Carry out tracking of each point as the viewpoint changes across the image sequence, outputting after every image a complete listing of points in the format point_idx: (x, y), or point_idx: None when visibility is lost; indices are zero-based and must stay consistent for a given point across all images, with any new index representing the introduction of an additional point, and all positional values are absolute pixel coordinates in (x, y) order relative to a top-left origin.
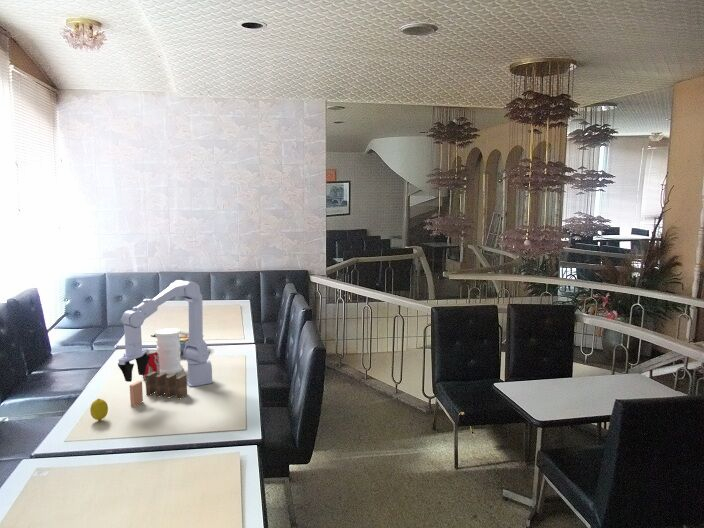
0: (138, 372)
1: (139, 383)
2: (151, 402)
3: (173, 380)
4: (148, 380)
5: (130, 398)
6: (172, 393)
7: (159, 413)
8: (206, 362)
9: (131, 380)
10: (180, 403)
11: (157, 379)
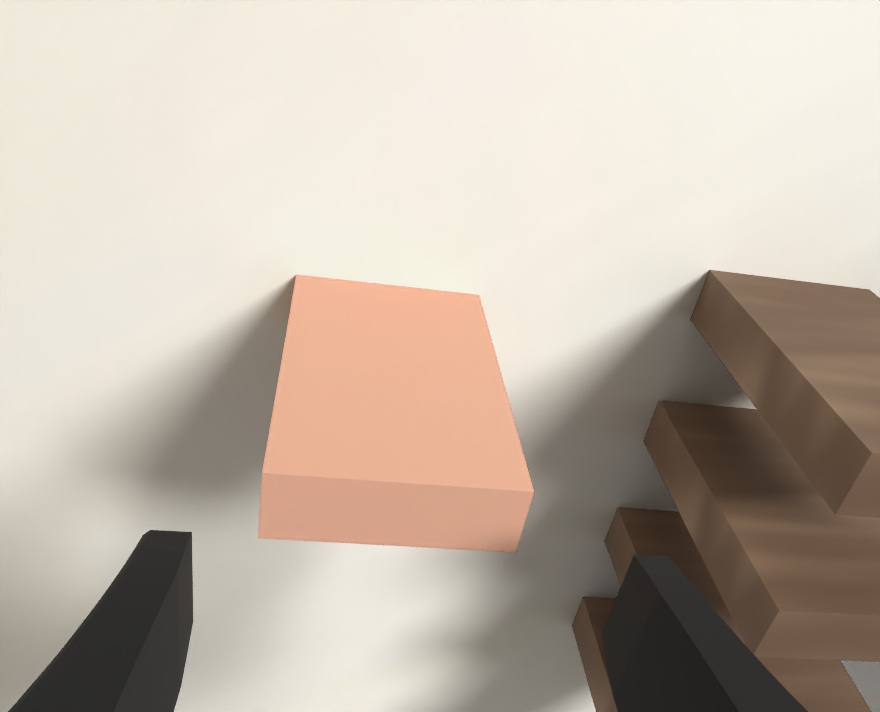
0: (652, 593)
1: (442, 534)
2: None
3: None
4: (795, 442)
5: (286, 332)
6: None
7: None
8: None
9: (188, 639)
10: (457, 668)
11: (742, 596)
